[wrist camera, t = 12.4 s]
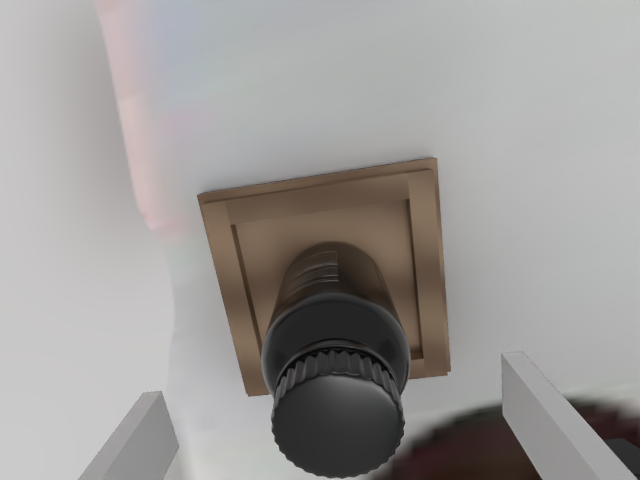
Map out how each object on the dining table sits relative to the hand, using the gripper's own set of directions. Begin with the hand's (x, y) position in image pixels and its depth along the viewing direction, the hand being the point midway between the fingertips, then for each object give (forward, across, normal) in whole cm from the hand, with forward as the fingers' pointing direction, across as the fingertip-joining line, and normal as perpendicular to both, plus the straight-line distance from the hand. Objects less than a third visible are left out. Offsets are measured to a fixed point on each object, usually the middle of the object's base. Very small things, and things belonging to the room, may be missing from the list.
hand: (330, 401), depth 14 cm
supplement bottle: (+11, 0, 0) cm, 11 cm away
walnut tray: (+12, 0, 0) cm, 12 cm away
